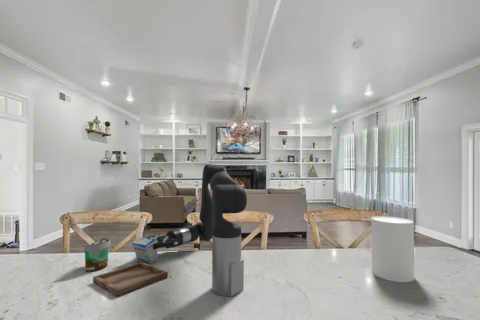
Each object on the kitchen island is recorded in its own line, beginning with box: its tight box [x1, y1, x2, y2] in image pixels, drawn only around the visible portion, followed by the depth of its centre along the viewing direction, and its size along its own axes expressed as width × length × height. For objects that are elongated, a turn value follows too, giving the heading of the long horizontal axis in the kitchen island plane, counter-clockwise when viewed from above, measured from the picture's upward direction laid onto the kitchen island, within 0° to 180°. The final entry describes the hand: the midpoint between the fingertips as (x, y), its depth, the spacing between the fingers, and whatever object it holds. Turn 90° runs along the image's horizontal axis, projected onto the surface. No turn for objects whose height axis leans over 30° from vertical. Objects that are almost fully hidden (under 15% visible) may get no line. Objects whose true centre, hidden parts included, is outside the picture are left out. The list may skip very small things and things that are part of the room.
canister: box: [370, 215, 415, 283], centre depth 97 cm, size 14×14×20 cm
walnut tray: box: [92, 261, 169, 298], centre depth 90 cm, size 16×18×2 cm
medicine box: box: [131, 237, 159, 264], centre depth 108 cm, size 8×4×9 cm, turn 63°
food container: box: [83, 237, 112, 273], centre depth 102 cm, size 12×6×10 cm, turn 179°
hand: (147, 244), depth 109 cm, fingers closed on medicine box, 8 cm apart
